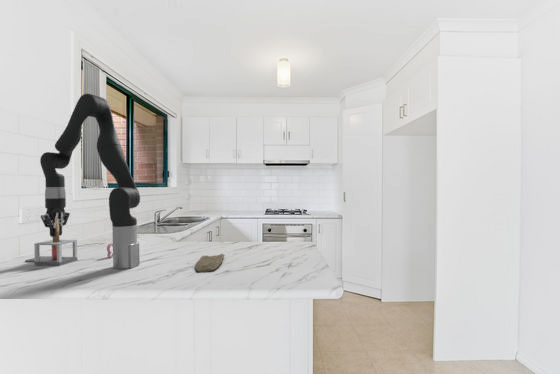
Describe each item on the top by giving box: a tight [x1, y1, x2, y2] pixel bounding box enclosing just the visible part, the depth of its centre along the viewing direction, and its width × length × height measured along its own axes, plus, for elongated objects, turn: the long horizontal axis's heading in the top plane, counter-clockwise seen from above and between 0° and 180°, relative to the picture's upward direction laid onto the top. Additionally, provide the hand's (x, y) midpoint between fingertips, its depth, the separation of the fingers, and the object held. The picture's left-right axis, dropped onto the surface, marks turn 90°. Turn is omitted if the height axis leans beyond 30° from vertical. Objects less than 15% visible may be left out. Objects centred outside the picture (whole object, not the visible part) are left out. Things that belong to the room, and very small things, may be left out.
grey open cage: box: [34, 239, 78, 267], centre depth 143 cm, size 12×10×9 cm
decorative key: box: [106, 242, 113, 259], centre depth 159 cm, size 7×1×20 cm
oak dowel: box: [52, 218, 60, 246], centre depth 143 cm, size 2×2×12 cm
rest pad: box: [24, 255, 52, 263], centre depth 149 cm, size 8×8×1 cm
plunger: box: [51, 245, 57, 260], centre depth 143 cm, size 3×3×6 cm
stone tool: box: [194, 253, 225, 273], centre depth 136 cm, size 11×3×25 cm
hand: (56, 235), depth 143 cm, fingers closed on oak dowel, 2 cm apart
